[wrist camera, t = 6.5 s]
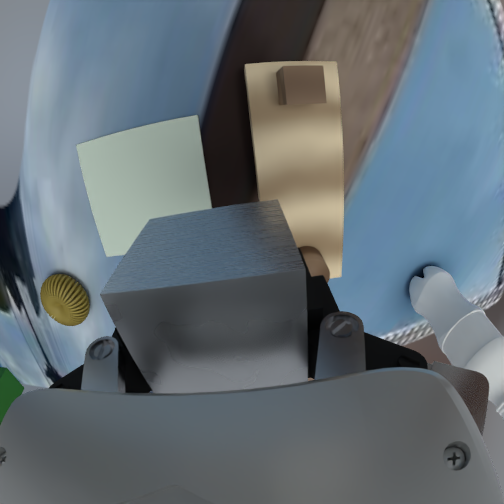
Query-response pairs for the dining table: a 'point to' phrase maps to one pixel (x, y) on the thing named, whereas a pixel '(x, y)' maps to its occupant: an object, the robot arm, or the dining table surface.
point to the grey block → (213, 300)
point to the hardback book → (8, 391)
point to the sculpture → (64, 300)
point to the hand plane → (301, 153)
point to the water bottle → (461, 329)
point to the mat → (143, 178)
